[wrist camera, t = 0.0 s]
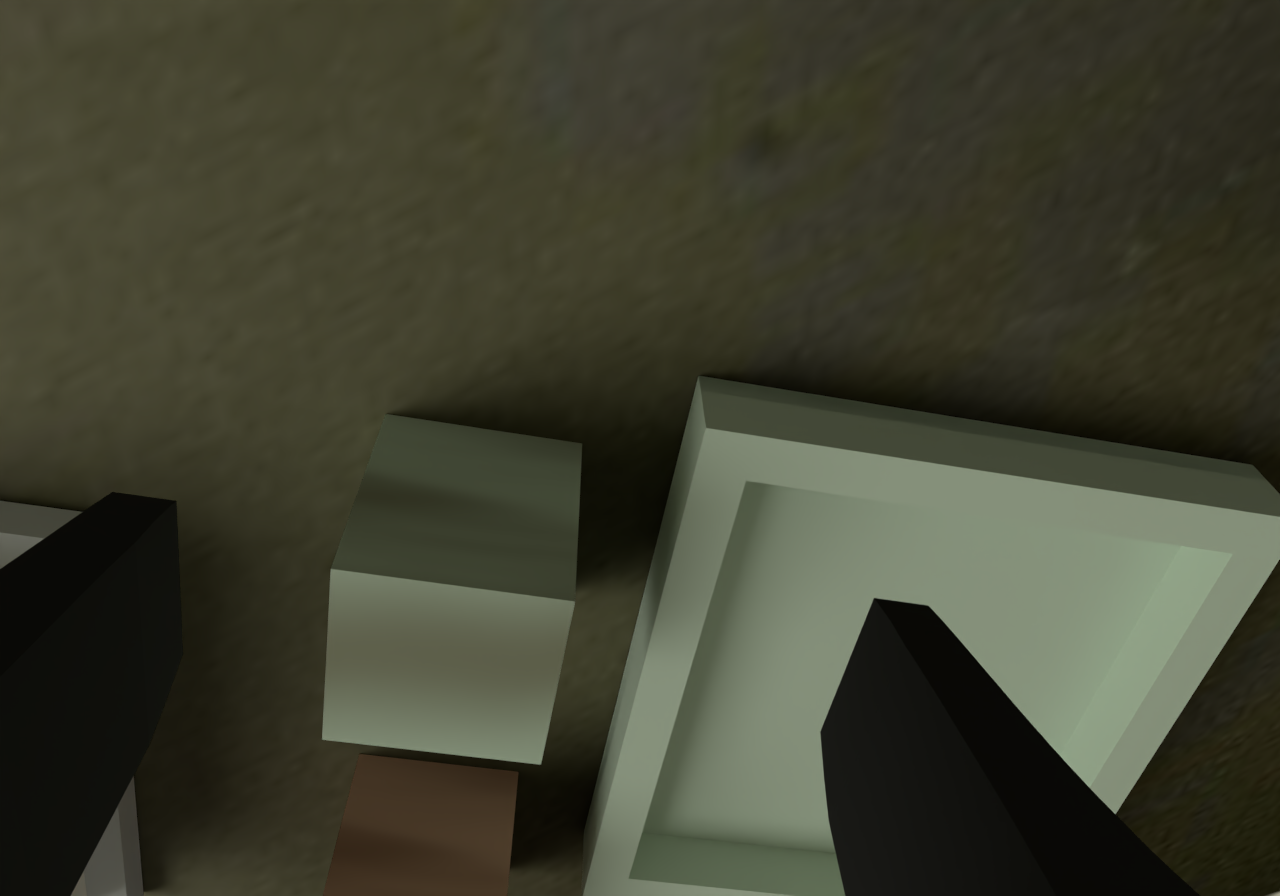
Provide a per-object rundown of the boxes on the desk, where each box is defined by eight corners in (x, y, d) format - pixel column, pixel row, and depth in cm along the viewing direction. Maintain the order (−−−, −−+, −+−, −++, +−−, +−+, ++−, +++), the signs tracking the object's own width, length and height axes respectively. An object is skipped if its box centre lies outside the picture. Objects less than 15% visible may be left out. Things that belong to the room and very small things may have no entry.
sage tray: (1008, 878, 30) (1031, 944, 28) (583, 832, 28) (582, 899, 27) (1252, 464, 23) (1304, 520, 21) (698, 375, 21) (706, 428, 19)
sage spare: (553, 590, 24) (541, 764, 20) (374, 566, 24) (322, 739, 19) (582, 442, 22) (575, 601, 18) (386, 413, 22) (330, 568, 17)
